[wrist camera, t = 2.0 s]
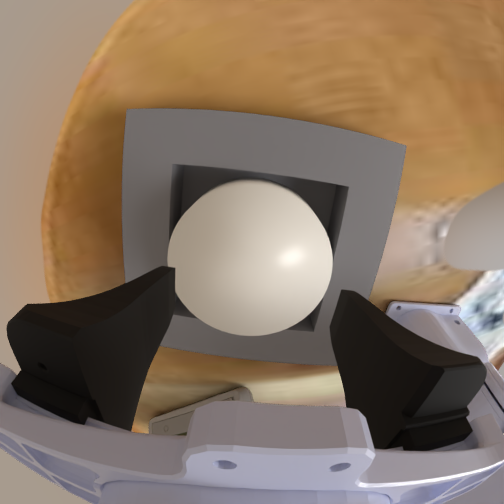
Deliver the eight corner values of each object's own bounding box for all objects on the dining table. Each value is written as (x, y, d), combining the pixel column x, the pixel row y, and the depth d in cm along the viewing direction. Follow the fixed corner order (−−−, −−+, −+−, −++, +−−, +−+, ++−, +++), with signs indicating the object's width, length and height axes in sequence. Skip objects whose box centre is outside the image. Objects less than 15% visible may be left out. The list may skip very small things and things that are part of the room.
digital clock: (252, 378, 28) (247, 466, 18) (281, 420, 31) (284, 494, 21) (135, 400, 31) (109, 466, 21) (174, 437, 34) (159, 497, 24)
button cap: (335, 189, 18) (348, 199, 15) (306, 316, 22) (312, 342, 19) (184, 170, 18) (170, 176, 15) (179, 300, 22) (168, 324, 19)
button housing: (385, 143, 19) (406, 145, 16) (335, 340, 26) (342, 365, 22) (146, 112, 19) (126, 109, 15) (145, 317, 25) (132, 340, 22)
